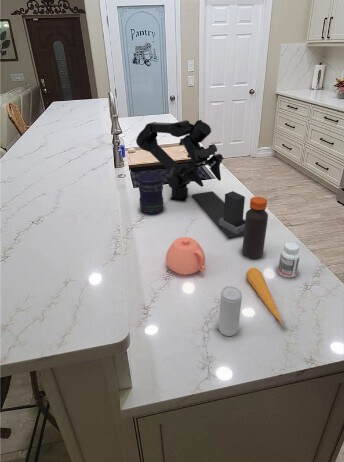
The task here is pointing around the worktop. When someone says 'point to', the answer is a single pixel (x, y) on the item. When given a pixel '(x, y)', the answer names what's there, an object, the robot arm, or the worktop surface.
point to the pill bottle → (289, 260)
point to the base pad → (218, 213)
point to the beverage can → (229, 310)
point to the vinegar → (255, 228)
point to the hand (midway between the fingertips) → (211, 183)
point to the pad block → (234, 208)
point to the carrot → (262, 290)
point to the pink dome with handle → (185, 256)
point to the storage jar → (151, 193)
